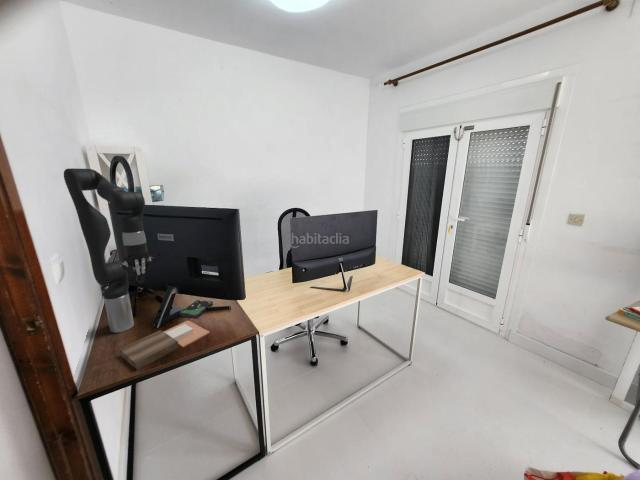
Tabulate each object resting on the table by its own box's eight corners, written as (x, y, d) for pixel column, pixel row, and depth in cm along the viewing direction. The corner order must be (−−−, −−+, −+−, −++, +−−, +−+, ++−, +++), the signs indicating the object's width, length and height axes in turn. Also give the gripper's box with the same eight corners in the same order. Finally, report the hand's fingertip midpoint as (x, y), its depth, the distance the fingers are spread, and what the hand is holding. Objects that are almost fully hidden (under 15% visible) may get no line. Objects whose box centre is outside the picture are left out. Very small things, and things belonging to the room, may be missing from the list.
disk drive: (196, 304, 149) (180, 317, 135) (196, 299, 149) (179, 312, 134) (213, 305, 148) (198, 318, 134) (213, 301, 147) (197, 314, 133)
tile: (165, 337, 116) (165, 332, 116) (185, 328, 123) (184, 323, 123) (173, 343, 112) (173, 338, 112) (193, 333, 120) (192, 328, 119)
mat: (161, 333, 120) (161, 332, 120) (188, 321, 130) (188, 320, 130) (182, 347, 110) (182, 346, 110) (209, 332, 121) (209, 331, 121)
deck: (120, 355, 105) (119, 348, 104) (161, 335, 118) (160, 330, 118) (137, 370, 97) (136, 363, 97) (178, 347, 110) (178, 341, 110)
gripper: (148, 237, 110) (153, 275, 114) (111, 244, 99) (118, 285, 103) (157, 240, 106) (162, 279, 110) (119, 247, 95) (126, 289, 99)
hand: (141, 282), depth 106 cm, fingers closed
